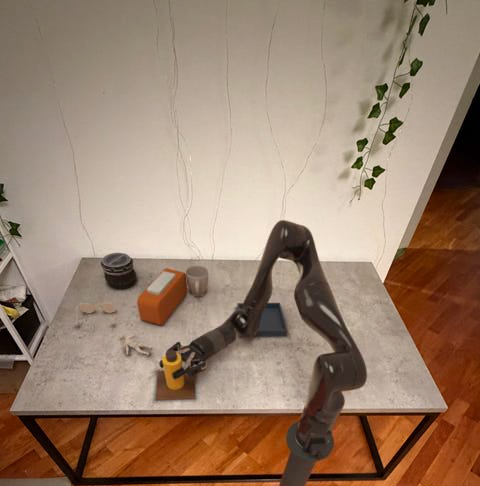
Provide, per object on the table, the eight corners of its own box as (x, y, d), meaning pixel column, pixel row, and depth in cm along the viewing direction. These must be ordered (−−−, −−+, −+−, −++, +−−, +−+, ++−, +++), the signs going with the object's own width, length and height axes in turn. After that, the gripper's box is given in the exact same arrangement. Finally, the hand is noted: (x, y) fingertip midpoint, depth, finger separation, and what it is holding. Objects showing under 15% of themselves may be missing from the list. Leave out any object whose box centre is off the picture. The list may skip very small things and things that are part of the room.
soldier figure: (143, 363, 116) (111, 347, 114) (147, 362, 120) (116, 346, 119) (153, 343, 114) (120, 326, 113) (156, 343, 119) (125, 326, 118)
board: (194, 398, 106) (194, 397, 105) (156, 400, 105) (155, 398, 104) (194, 371, 113) (194, 369, 113) (158, 372, 112) (157, 370, 112)
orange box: (169, 288, 141) (166, 263, 132) (187, 293, 140) (185, 267, 131) (140, 322, 127) (134, 296, 118) (160, 327, 126) (156, 301, 117)
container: (110, 272, 146) (104, 250, 138) (140, 274, 146) (135, 252, 139) (102, 289, 139) (95, 266, 131) (133, 291, 139) (128, 269, 131)
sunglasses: (118, 312, 130) (114, 302, 126) (116, 328, 126) (112, 319, 122) (80, 312, 129) (76, 302, 124) (77, 329, 125) (72, 320, 121)
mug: (187, 286, 143) (186, 265, 135) (208, 286, 143) (208, 265, 136) (187, 303, 136) (185, 282, 128) (209, 303, 136) (208, 282, 129)
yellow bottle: (188, 382, 109) (184, 352, 99) (176, 392, 106) (171, 363, 96) (174, 374, 111) (170, 344, 100) (163, 384, 108) (157, 354, 98)
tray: (286, 335, 127) (287, 330, 125) (241, 336, 125) (241, 331, 123) (279, 307, 137) (279, 302, 135) (237, 308, 135) (237, 303, 133)
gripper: (193, 325, 109) (150, 349, 101) (223, 348, 103) (180, 375, 96) (194, 343, 115) (153, 367, 107) (223, 365, 109) (182, 392, 102)
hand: (166, 370), depth 101 cm, fingers closed on yellow bottle, 5 cm apart
